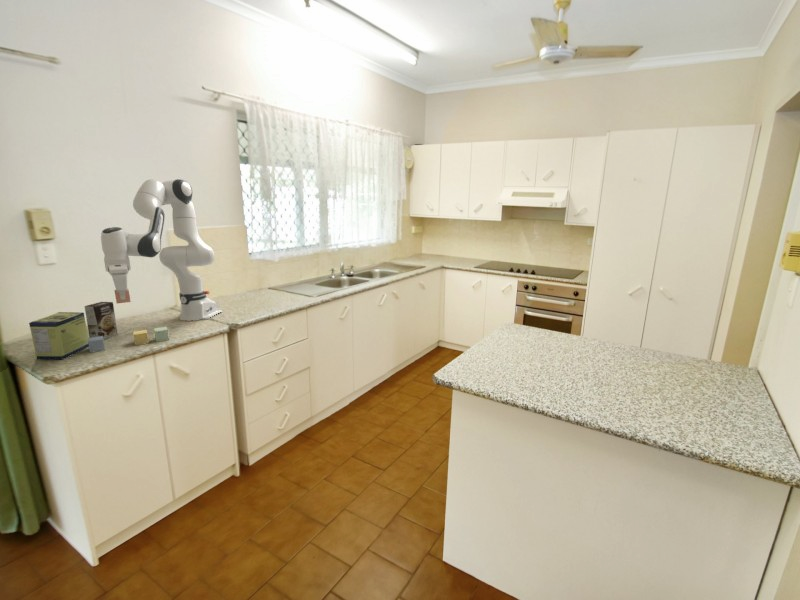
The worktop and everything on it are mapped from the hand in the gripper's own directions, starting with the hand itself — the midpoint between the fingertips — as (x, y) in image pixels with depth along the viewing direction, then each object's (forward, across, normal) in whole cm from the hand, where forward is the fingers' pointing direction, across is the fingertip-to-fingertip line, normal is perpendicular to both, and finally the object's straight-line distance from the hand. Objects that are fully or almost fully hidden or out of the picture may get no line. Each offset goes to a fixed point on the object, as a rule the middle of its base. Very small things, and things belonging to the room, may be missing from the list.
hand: (122, 297), depth 175 cm
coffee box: (+21, -14, -9) cm, 27 cm away
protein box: (+21, -1, -23) cm, 31 cm away
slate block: (+21, +2, -12) cm, 24 cm away
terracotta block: (+2, 0, 0) cm, 2 cm away
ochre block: (+21, +2, +4) cm, 22 cm away
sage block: (+21, +2, +12) cm, 24 cm away
